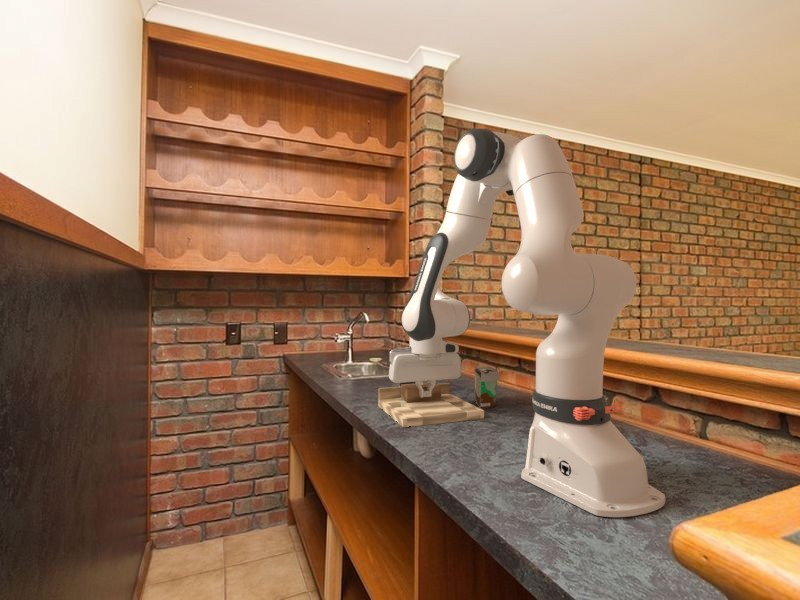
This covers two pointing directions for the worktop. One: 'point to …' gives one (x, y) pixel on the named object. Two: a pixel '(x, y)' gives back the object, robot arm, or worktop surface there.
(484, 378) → the food container
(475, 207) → the robot arm
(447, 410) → the wooden frame
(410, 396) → the block
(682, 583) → the worktop surface
